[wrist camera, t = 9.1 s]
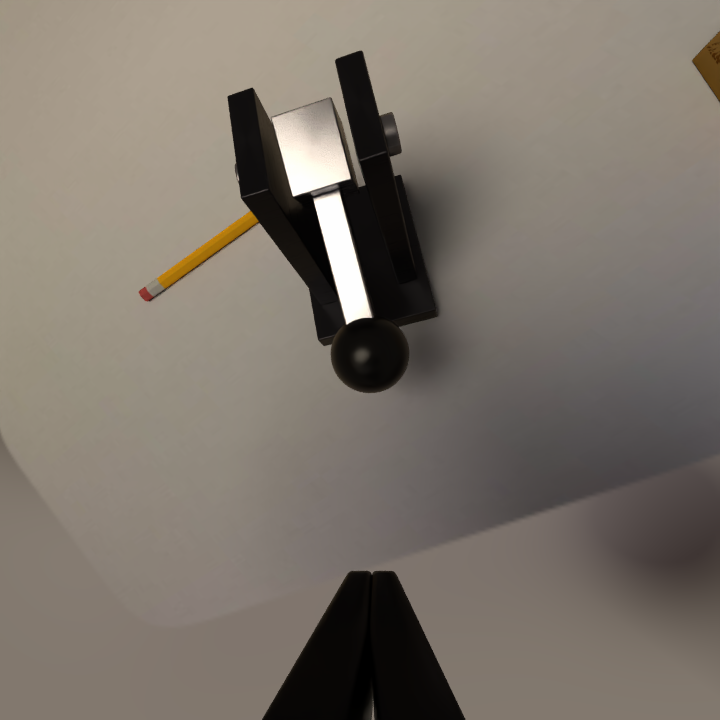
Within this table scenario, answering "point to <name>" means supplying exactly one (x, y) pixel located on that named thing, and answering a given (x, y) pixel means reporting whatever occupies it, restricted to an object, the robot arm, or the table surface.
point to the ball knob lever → (340, 244)
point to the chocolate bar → (710, 64)
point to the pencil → (198, 256)
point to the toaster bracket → (367, 209)
